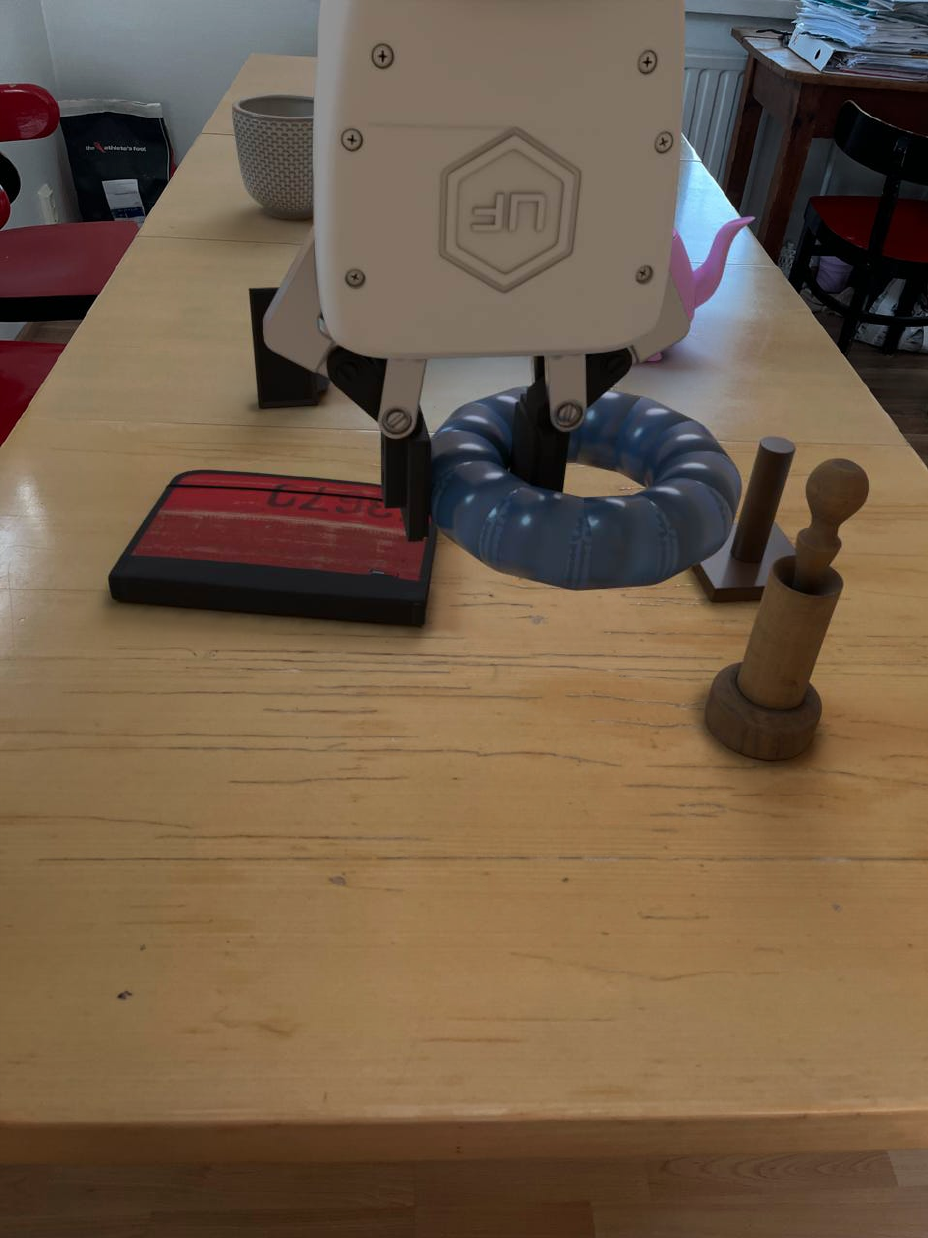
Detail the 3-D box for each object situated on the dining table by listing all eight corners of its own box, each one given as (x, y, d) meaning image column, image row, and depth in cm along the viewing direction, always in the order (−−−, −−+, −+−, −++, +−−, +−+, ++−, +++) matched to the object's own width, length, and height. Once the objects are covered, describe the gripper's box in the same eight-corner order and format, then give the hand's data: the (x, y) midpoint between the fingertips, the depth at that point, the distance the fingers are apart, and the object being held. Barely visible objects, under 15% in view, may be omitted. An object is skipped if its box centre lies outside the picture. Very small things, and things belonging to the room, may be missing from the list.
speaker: (320, 412, 89) (313, 293, 83) (257, 408, 89) (245, 290, 84) (338, 383, 95) (333, 271, 90) (279, 380, 96) (270, 268, 90)
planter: (255, 232, 126) (247, 120, 118) (227, 200, 136) (219, 94, 128) (359, 224, 131) (359, 116, 123) (325, 193, 141) (323, 91, 133)
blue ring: (780, 595, 33) (802, 518, 31) (446, 618, 31) (449, 538, 30) (669, 435, 42) (682, 368, 40) (402, 446, 40) (403, 376, 38)
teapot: (712, 319, 113) (740, 191, 104) (739, 379, 100) (774, 239, 92) (517, 306, 112) (530, 176, 104) (520, 364, 100) (535, 222, 91)
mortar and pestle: (745, 672, 65) (824, 421, 54) (833, 727, 61) (938, 470, 50) (682, 717, 61) (753, 457, 50) (772, 779, 57) (870, 514, 46)
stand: (816, 596, 72) (859, 472, 66) (711, 602, 71) (745, 476, 64) (771, 534, 78) (807, 415, 72) (674, 538, 77) (702, 418, 70)
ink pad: (426, 600, 65) (104, 574, 65) (424, 629, 66) (109, 603, 66) (444, 483, 78) (175, 461, 78) (442, 509, 79) (179, 488, 79)
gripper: (146, -129, 20) (233, 595, 32) (891, -92, 23) (725, 563, 34) (167, -139, 26) (234, 476, 37) (760, -108, 29) (656, 457, 40)
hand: (470, 513), depth 36 cm, fingers closed on blue ring, 3 cm apart
